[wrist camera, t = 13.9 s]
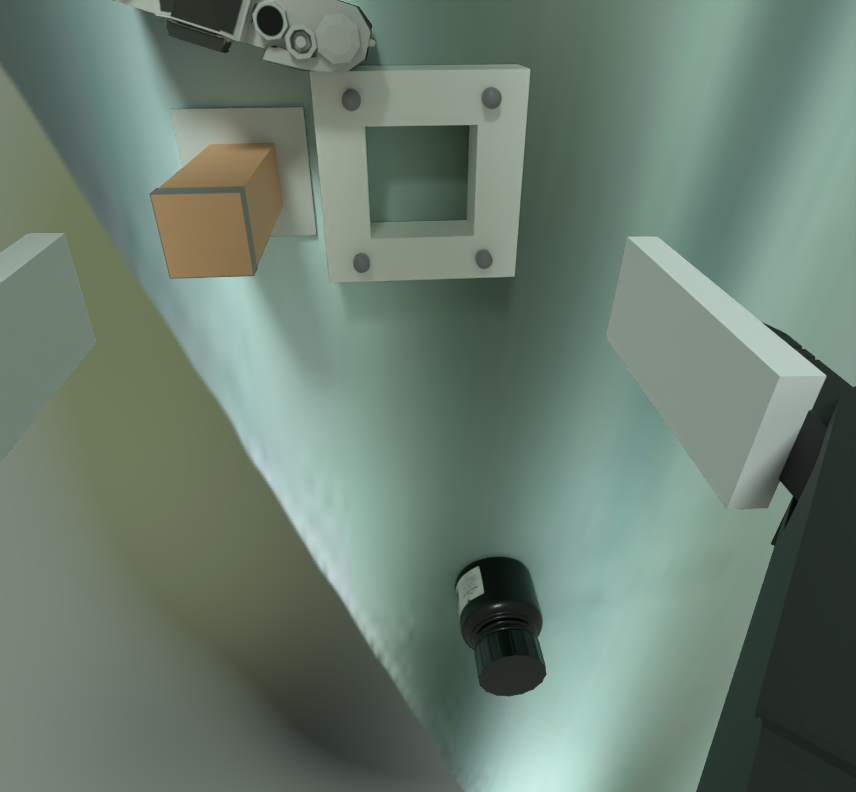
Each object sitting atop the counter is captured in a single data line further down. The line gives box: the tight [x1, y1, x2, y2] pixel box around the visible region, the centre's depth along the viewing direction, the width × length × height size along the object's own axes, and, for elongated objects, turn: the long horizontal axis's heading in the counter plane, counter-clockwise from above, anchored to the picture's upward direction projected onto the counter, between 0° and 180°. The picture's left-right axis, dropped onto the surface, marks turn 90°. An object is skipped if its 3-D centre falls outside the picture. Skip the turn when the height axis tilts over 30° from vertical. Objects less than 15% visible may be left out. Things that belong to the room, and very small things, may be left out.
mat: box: [170, 107, 316, 236], centre depth 45 cm, size 9×9×1 cm
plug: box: [150, 143, 283, 279], centre depth 39 cm, size 5×5×14 cm
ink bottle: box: [455, 557, 546, 696], centre depth 66 cm, size 10×9×12 cm
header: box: [310, 64, 530, 283], centre depth 44 cm, size 14×14×5 cm
